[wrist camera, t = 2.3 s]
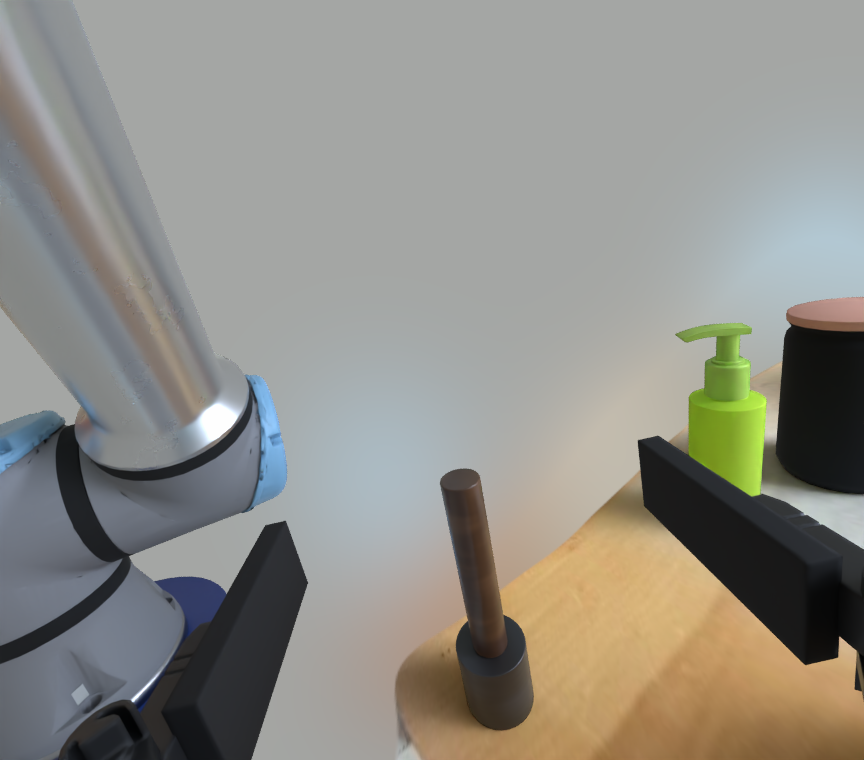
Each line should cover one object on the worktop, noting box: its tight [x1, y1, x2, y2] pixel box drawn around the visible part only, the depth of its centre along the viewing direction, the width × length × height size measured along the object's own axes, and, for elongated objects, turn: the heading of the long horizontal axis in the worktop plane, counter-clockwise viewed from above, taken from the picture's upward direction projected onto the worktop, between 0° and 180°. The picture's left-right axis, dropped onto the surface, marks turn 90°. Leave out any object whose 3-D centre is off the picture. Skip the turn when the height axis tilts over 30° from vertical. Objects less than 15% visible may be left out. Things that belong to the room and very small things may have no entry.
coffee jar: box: [776, 297, 864, 494], centre depth 43 cm, size 11×11×18 cm
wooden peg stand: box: [440, 469, 534, 730], centre depth 27 cm, size 5×5×18 cm
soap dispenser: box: [675, 323, 767, 497], centre depth 40 cm, size 6×7×20 cm
